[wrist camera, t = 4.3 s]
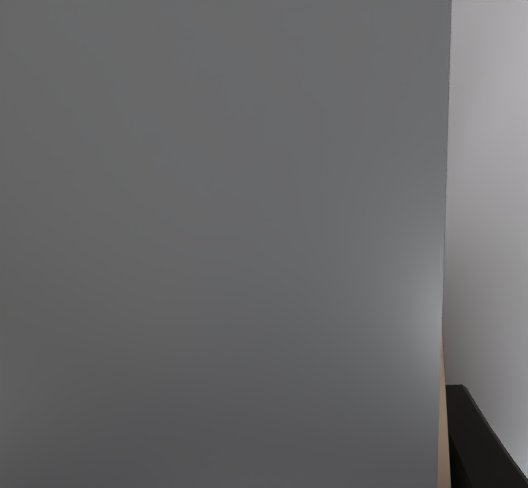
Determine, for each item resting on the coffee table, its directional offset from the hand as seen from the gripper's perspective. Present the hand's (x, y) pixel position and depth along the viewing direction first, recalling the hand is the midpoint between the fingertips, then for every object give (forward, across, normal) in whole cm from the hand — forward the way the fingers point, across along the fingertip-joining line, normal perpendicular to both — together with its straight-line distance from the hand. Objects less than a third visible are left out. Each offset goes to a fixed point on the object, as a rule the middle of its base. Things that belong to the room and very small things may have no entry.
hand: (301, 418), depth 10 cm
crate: (-2, 0, -7) cm, 7 cm away
